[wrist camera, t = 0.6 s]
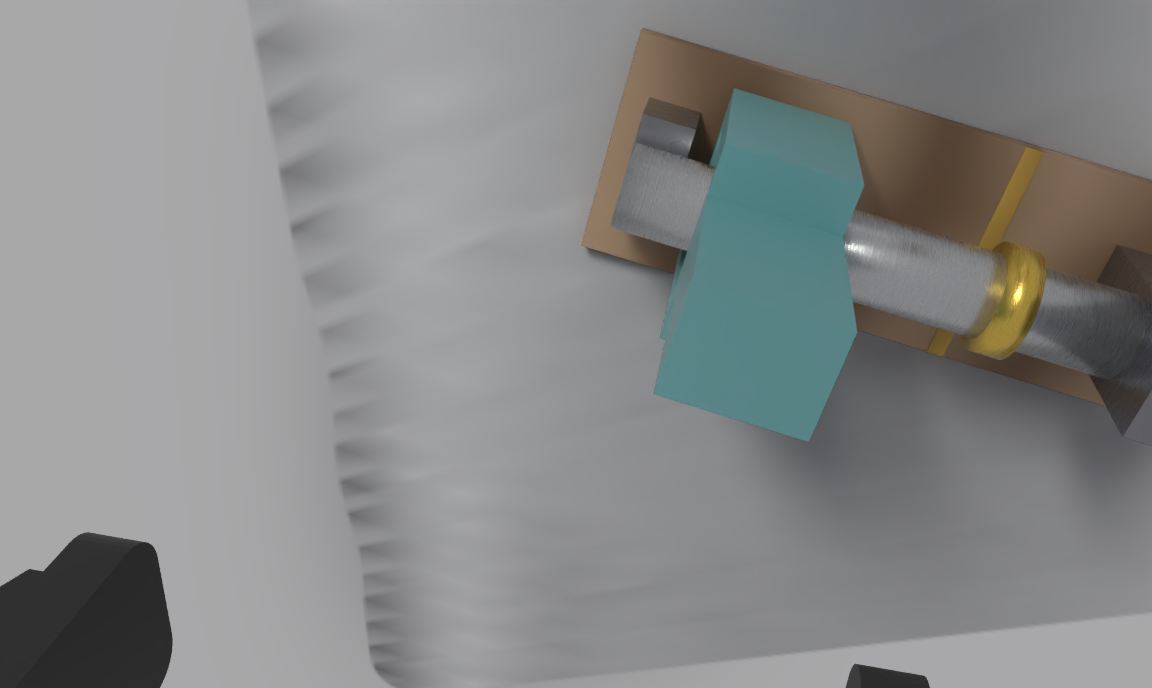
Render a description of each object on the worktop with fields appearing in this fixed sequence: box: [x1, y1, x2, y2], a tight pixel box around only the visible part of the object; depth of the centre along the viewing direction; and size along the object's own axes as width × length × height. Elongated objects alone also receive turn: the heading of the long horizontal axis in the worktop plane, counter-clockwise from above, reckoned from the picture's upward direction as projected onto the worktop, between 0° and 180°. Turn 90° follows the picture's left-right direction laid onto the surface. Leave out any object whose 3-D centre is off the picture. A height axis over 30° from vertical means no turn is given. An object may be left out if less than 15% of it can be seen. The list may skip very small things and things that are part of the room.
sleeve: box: [654, 88, 864, 442], centre depth 30 cm, size 4×6×12 cm, turn 166°
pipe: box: [610, 97, 1152, 446], centre depth 33 cm, size 18×4×7 cm, turn 75°
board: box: [581, 28, 1152, 406], centre depth 36 cm, size 20×8×1 cm, turn 75°
